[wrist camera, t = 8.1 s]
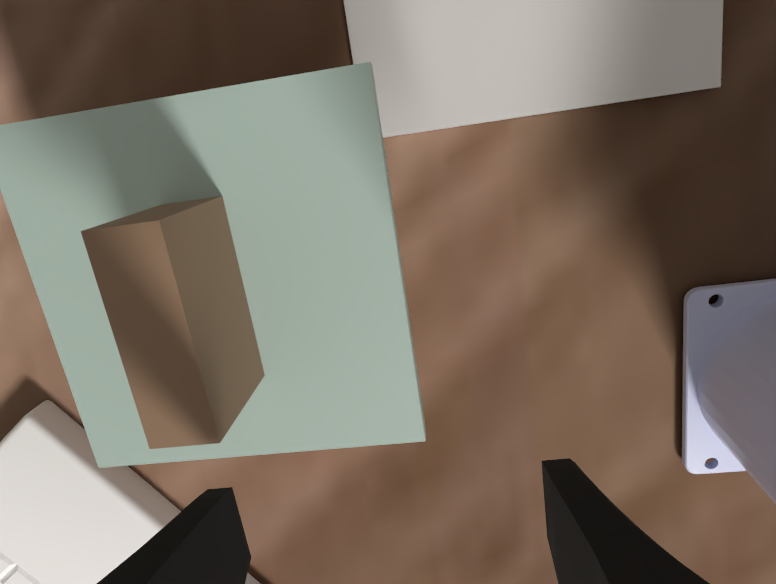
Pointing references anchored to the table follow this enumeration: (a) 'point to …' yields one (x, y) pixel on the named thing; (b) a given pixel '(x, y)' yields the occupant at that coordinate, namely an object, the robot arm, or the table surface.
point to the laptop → (69, 505)
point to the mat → (528, 55)
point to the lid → (221, 269)
